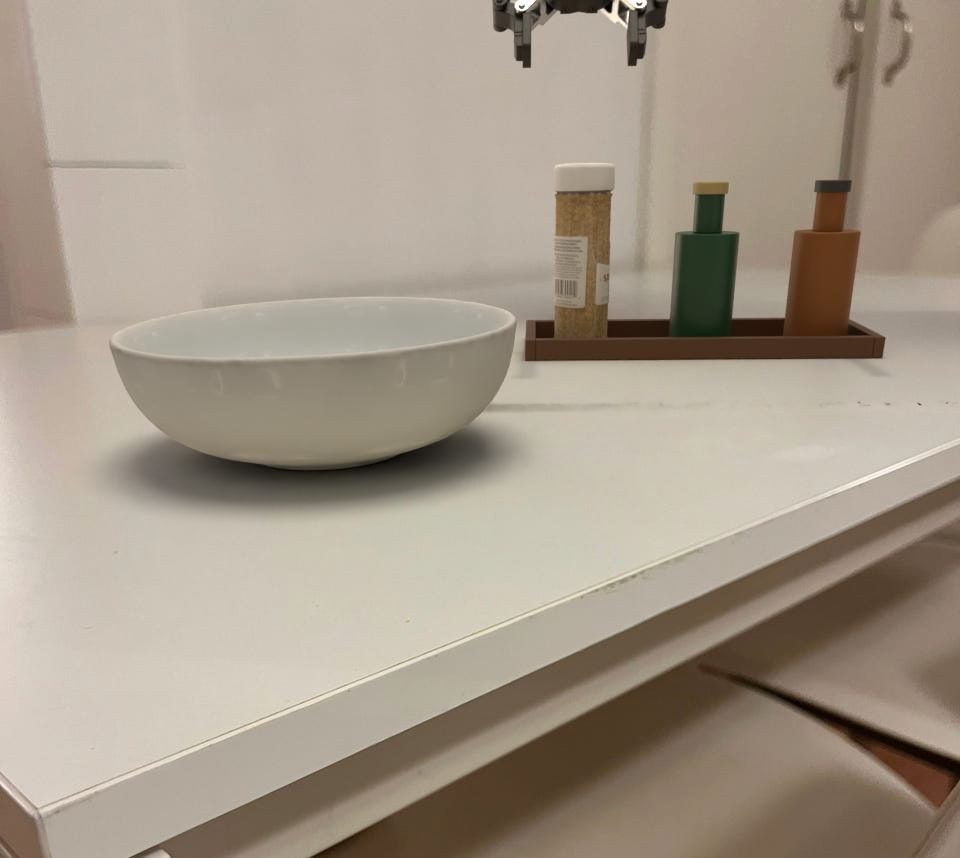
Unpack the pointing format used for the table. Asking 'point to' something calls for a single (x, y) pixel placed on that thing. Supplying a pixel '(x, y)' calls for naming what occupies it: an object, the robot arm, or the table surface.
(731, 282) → the green bottle
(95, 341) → the table surface
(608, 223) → the sprinkles bottle
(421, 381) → the serving bowl
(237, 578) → the table surface
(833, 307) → the amber bottle
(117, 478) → the table surface
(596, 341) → the tray
